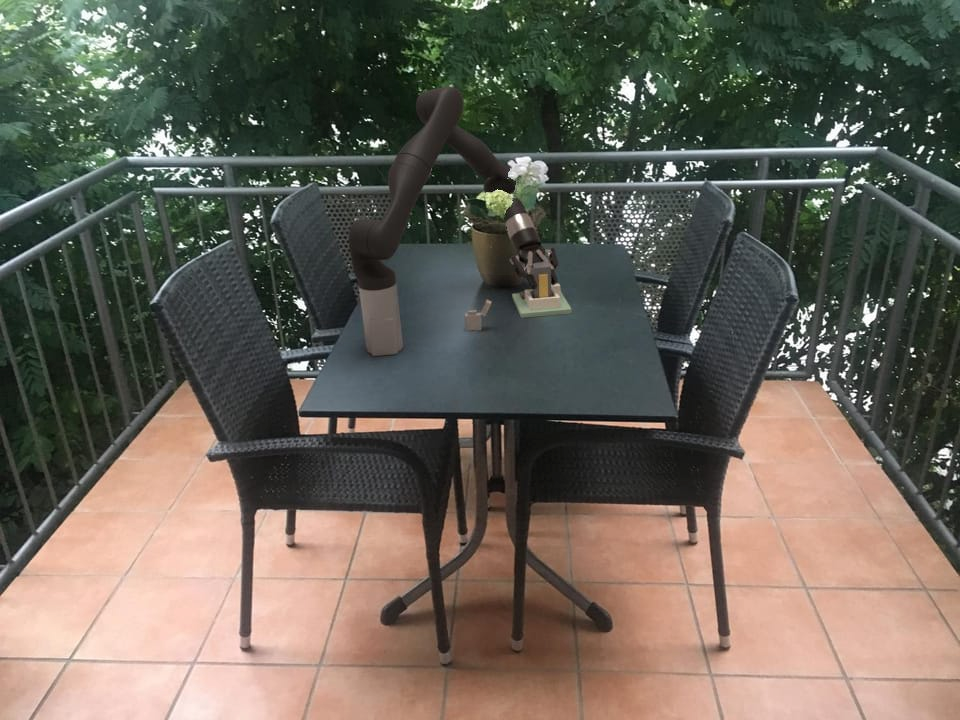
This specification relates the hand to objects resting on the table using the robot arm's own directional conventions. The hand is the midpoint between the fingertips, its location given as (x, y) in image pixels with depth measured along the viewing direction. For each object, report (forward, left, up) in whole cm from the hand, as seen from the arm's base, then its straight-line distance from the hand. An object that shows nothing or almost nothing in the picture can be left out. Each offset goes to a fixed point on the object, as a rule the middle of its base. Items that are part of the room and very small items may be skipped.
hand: (545, 285), depth 212 cm
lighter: (-9, +20, -7) cm, 23 cm away
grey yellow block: (+2, +1, -5) cm, 5 cm away
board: (+4, +1, -7) cm, 8 cm away
